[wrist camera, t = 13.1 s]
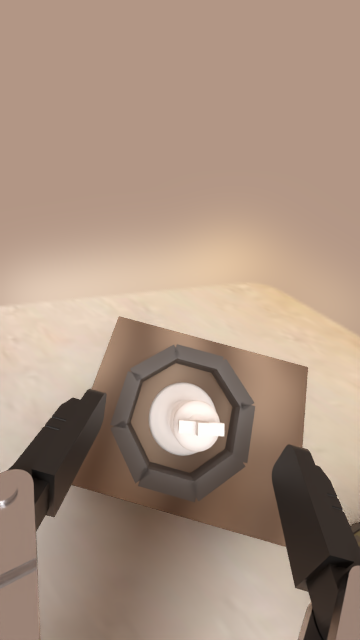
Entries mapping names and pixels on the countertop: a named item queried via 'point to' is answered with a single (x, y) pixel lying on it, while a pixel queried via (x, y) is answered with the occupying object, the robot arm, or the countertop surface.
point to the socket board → (206, 466)
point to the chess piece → (184, 419)
